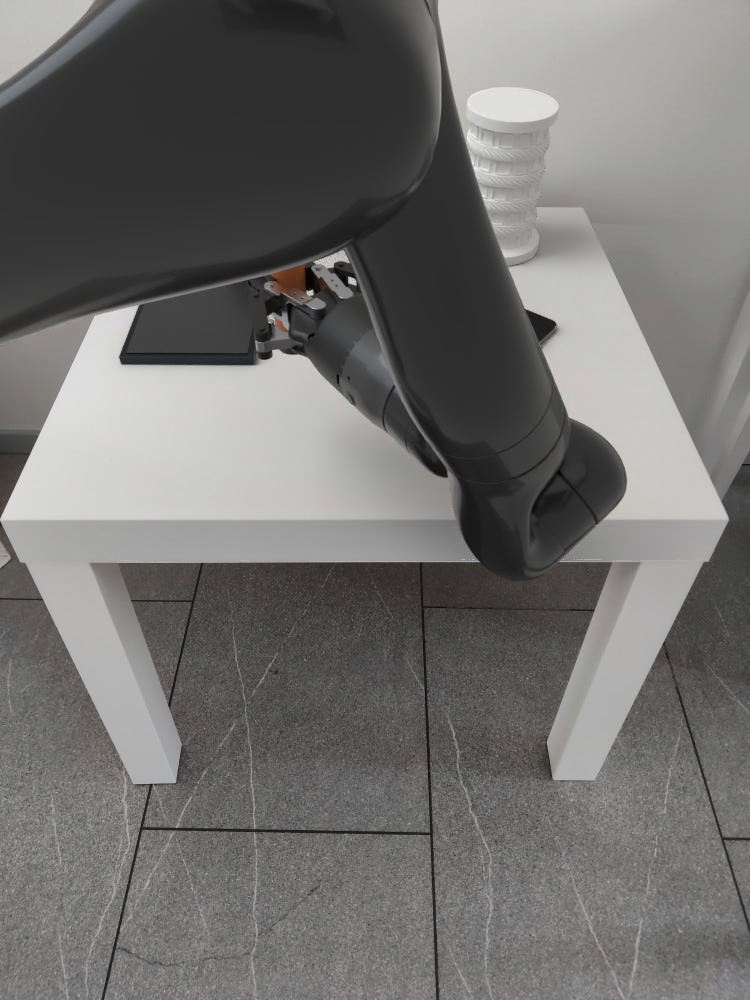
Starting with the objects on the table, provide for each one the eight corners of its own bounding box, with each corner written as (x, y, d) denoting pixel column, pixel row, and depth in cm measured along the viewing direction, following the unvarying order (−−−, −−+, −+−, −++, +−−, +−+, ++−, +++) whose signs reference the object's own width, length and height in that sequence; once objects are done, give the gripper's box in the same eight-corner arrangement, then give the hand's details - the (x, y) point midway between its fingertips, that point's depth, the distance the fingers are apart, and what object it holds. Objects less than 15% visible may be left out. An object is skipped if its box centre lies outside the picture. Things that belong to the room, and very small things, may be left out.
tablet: (120, 364, 86) (118, 356, 85) (155, 273, 99) (153, 266, 98) (254, 365, 86) (253, 357, 85) (271, 274, 98) (270, 266, 98)
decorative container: (446, 260, 101) (457, 118, 87) (458, 219, 108) (470, 82, 95) (534, 271, 99) (559, 127, 86) (540, 228, 107) (564, 90, 93)
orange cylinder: (286, 358, 68) (273, 244, 60) (272, 341, 70) (258, 228, 62) (316, 348, 69) (308, 234, 61) (301, 332, 71) (291, 219, 63)
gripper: (463, 291, 56) (336, 202, 66) (300, 358, 51) (188, 250, 61) (456, 373, 62) (339, 279, 72) (308, 441, 57) (204, 330, 66)
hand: (270, 267), depth 66 cm, fingers closed on orange cylinder, 3 cm apart
